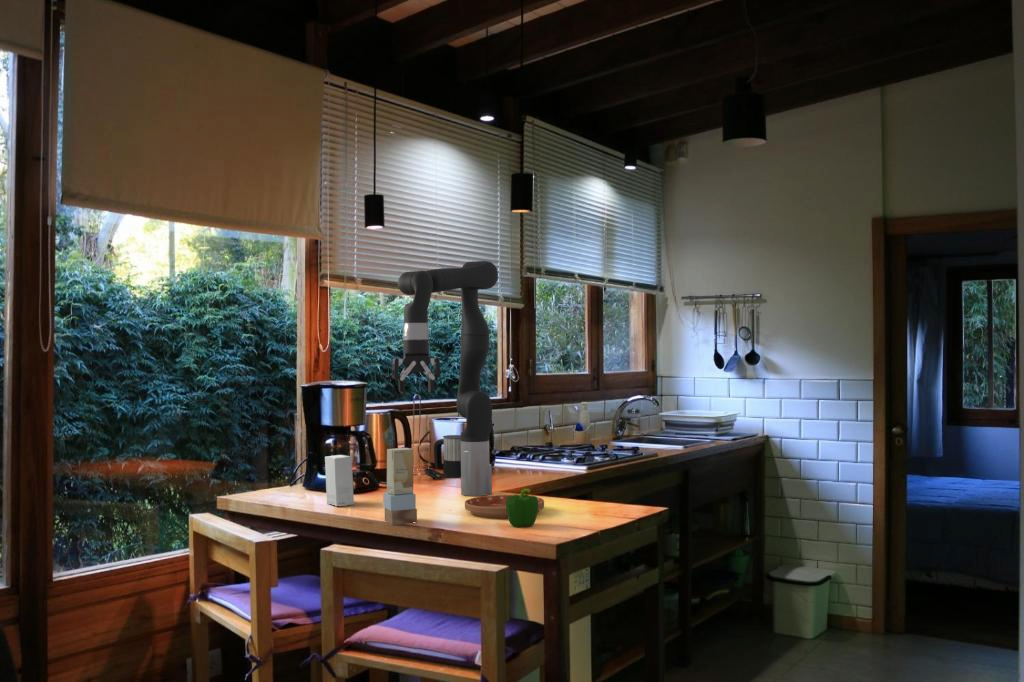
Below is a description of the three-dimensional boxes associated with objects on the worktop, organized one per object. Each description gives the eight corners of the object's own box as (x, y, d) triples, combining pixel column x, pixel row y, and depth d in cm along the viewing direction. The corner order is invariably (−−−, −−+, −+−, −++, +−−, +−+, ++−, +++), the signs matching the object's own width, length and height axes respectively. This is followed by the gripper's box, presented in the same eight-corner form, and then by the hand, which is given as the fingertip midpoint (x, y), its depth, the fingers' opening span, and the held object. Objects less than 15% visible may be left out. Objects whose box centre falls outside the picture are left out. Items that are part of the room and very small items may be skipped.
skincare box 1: (354, 505, 277) (353, 456, 277) (335, 507, 273) (335, 457, 273) (343, 501, 284) (342, 453, 284) (324, 503, 280) (324, 455, 280)
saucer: (449, 512, 266) (449, 499, 266) (513, 503, 279) (513, 491, 279) (494, 524, 247) (494, 510, 247) (560, 514, 261) (560, 501, 261)
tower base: (408, 519, 255) (408, 504, 255) (416, 523, 249) (416, 508, 249) (384, 521, 252) (384, 506, 252) (392, 526, 246) (392, 511, 246)
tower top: (407, 504, 255) (407, 490, 255) (415, 508, 249) (415, 494, 249) (383, 506, 252) (383, 492, 252) (390, 511, 246) (390, 496, 246)
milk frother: (471, 475, 338) (471, 434, 338) (458, 481, 322) (458, 439, 322) (435, 474, 341) (434, 434, 341) (420, 480, 326) (420, 438, 326)
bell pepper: (500, 525, 245) (499, 487, 245) (525, 521, 249) (524, 484, 249) (518, 530, 238) (518, 491, 238) (543, 526, 243) (543, 488, 243)
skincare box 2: (394, 495, 247) (393, 450, 247) (386, 493, 250) (385, 448, 251) (414, 492, 251) (414, 448, 251) (406, 491, 254) (406, 447, 254)
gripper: (435, 338, 277) (435, 391, 277) (389, 338, 272) (389, 393, 272) (442, 338, 270) (443, 393, 270) (395, 338, 265) (396, 394, 265)
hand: (416, 393), depth 271 cm, fingers open, 8 cm apart
